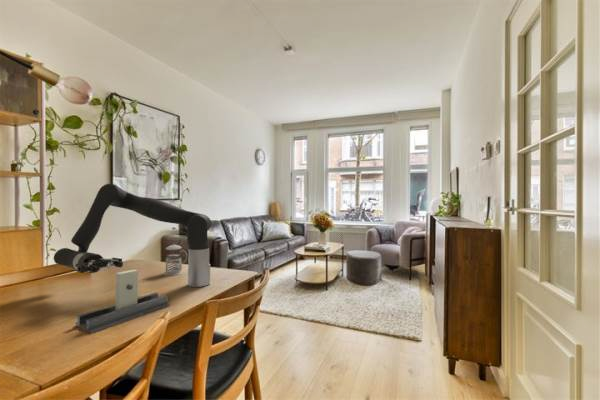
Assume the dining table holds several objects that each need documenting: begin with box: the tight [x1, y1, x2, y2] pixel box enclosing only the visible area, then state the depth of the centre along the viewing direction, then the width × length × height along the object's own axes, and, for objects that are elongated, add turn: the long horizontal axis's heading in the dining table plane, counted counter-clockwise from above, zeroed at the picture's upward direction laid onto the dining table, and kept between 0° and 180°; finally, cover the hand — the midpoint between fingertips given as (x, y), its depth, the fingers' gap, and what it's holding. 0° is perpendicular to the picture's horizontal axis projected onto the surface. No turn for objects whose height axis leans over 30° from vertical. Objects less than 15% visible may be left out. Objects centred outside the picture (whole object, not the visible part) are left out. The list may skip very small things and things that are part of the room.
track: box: [75, 292, 171, 334], centre depth 97 cm, size 26×10×4 cm, turn 150°
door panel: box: [115, 269, 139, 310], centre depth 97 cm, size 6×4×14 cm, turn 149°
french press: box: [163, 226, 188, 276], centre depth 152 cm, size 10×12×25 cm
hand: (109, 266), depth 104 cm, fingers open, 8 cm apart
